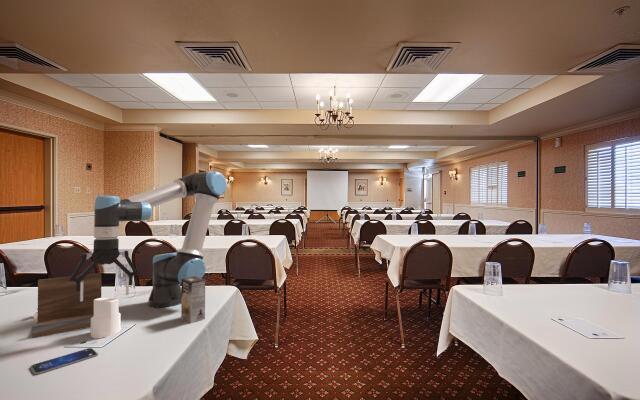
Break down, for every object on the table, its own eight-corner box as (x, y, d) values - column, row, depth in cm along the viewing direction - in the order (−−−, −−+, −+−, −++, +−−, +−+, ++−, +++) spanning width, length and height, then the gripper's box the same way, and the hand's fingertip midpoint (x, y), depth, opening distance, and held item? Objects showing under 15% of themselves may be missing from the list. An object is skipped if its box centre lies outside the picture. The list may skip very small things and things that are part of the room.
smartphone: (99, 354, 98) (34, 374, 86) (99, 357, 98) (34, 377, 86) (91, 346, 102) (29, 365, 91) (91, 349, 102) (29, 368, 91)
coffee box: (180, 317, 130) (180, 278, 130) (195, 313, 135) (195, 275, 135) (190, 323, 124) (190, 282, 124) (206, 319, 128) (206, 279, 129)
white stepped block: (126, 329, 118) (126, 297, 118) (102, 339, 109) (103, 304, 109) (108, 326, 120) (109, 295, 121) (84, 336, 112) (84, 302, 112)
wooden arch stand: (101, 325, 122) (102, 279, 122) (32, 337, 111) (32, 287, 111) (101, 314, 134) (101, 273, 134) (37, 325, 122) (38, 279, 122)
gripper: (61, 241, 105) (59, 305, 104) (146, 237, 119) (145, 294, 119) (63, 239, 111) (61, 300, 110) (144, 235, 125) (143, 290, 125)
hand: (105, 297), depth 115 cm, fingers open, 13 cm apart
